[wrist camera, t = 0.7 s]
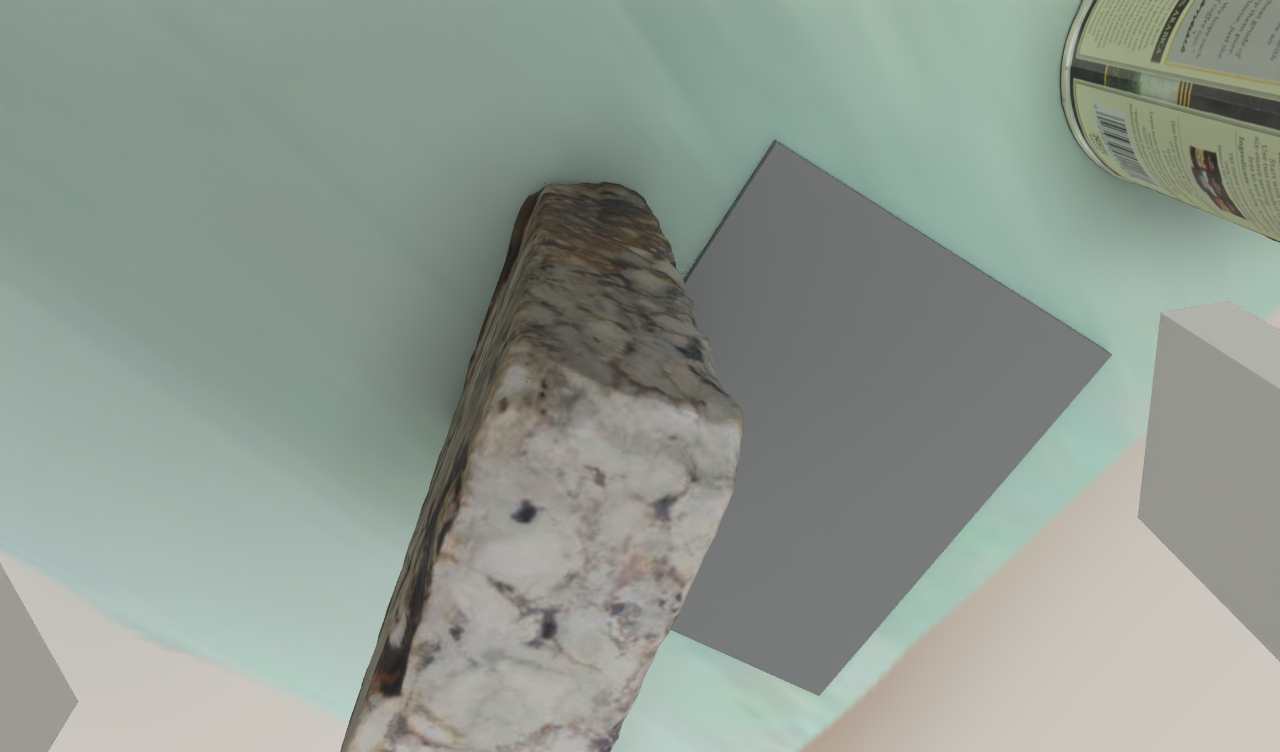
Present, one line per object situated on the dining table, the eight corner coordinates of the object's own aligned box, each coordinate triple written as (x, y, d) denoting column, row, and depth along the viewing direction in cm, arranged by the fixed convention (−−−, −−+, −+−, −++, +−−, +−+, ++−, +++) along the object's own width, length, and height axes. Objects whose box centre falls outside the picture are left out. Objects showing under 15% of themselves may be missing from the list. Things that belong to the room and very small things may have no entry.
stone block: (586, 471, 42) (596, 870, 24) (432, 437, 41) (319, 829, 23) (674, 191, 37) (770, 428, 19) (500, 142, 36) (426, 345, 18)
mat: (507, 551, 44) (507, 556, 43) (775, 140, 36) (776, 142, 36) (817, 690, 48) (819, 695, 48) (1107, 351, 41) (1111, 354, 41)
